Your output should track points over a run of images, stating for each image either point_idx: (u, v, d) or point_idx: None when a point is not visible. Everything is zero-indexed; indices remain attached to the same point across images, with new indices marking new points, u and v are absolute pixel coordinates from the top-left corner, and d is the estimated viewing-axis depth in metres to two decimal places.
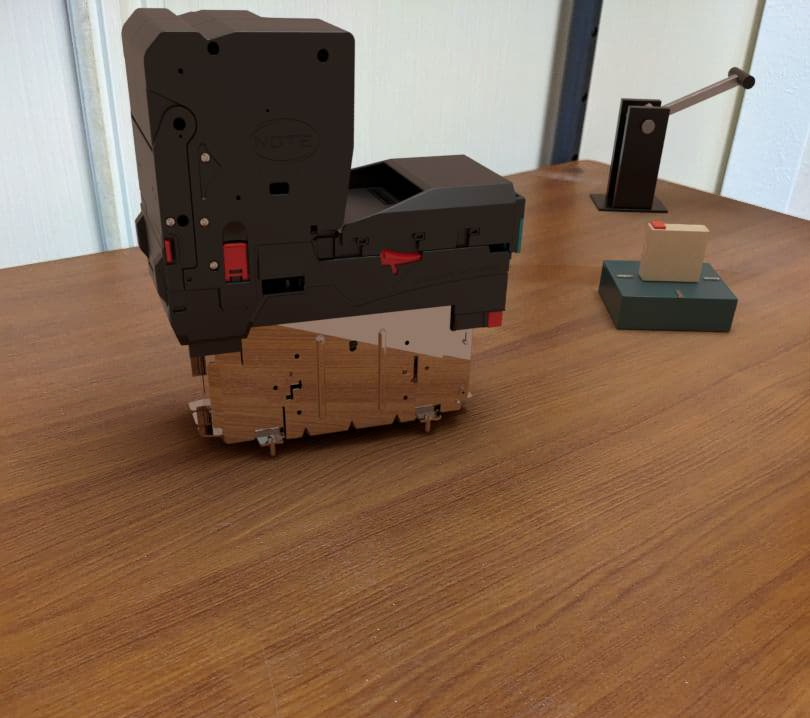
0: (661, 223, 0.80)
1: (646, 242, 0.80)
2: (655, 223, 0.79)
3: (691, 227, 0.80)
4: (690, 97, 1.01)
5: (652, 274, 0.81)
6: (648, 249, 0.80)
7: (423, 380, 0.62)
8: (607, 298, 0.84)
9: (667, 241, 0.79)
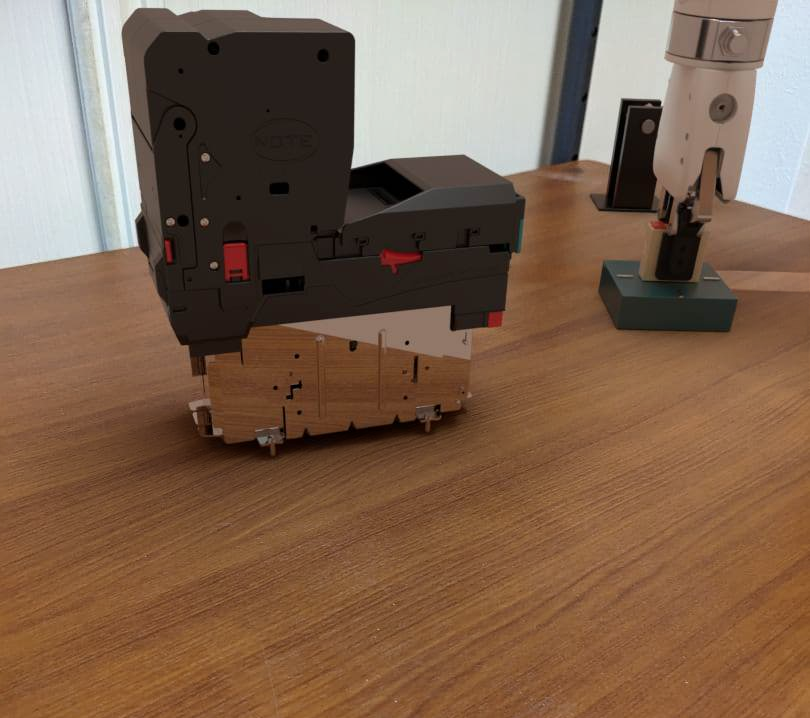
0: (661, 223, 0.80)
1: (646, 242, 0.80)
2: (655, 223, 0.79)
3: None
4: None
5: (652, 274, 0.81)
6: (648, 249, 0.80)
7: (423, 380, 0.62)
8: (607, 298, 0.84)
9: None
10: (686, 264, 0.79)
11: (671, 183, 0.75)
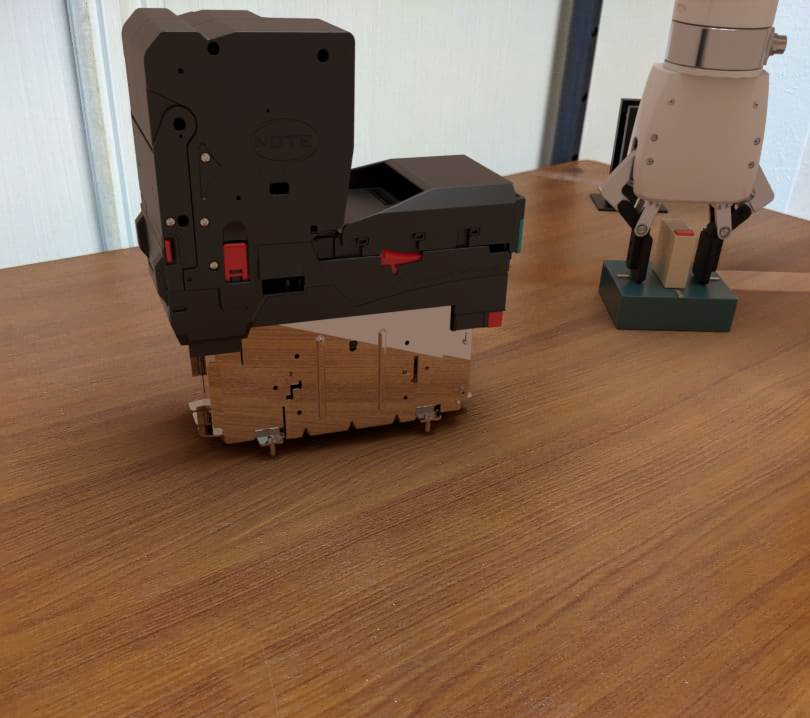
0: (681, 229, 0.78)
1: (679, 253, 0.78)
2: (684, 232, 0.78)
3: (675, 223, 0.80)
4: None
5: None
6: (690, 257, 0.79)
7: (423, 380, 0.62)
8: (607, 298, 0.84)
9: None
10: None
11: (723, 191, 0.76)
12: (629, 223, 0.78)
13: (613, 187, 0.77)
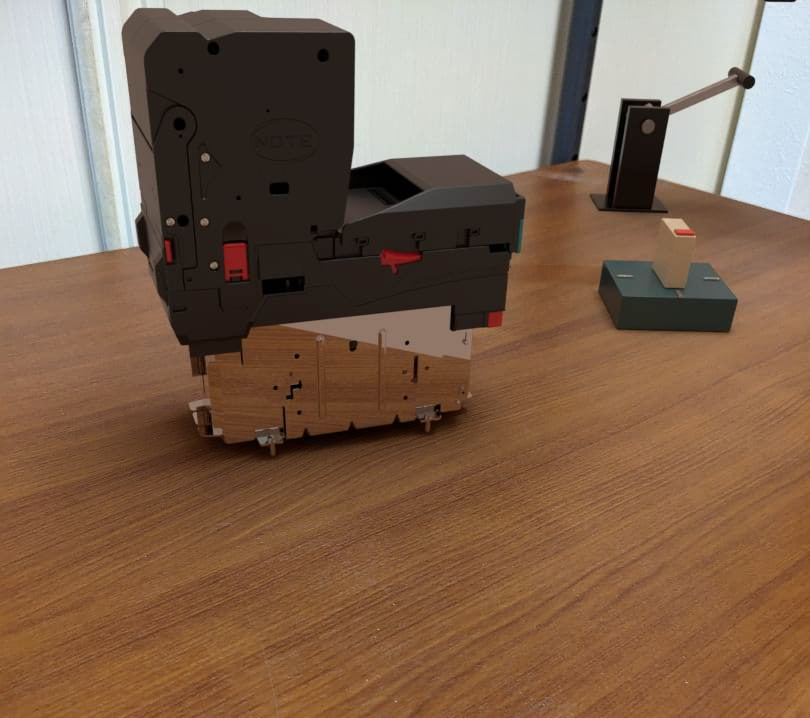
0: (681, 229, 0.78)
1: (679, 253, 0.78)
2: (684, 232, 0.78)
3: (675, 223, 0.80)
4: (690, 97, 1.01)
5: None
6: (690, 257, 0.79)
7: (423, 380, 0.62)
8: (607, 298, 0.84)
9: None
10: None
11: None
12: None
13: None
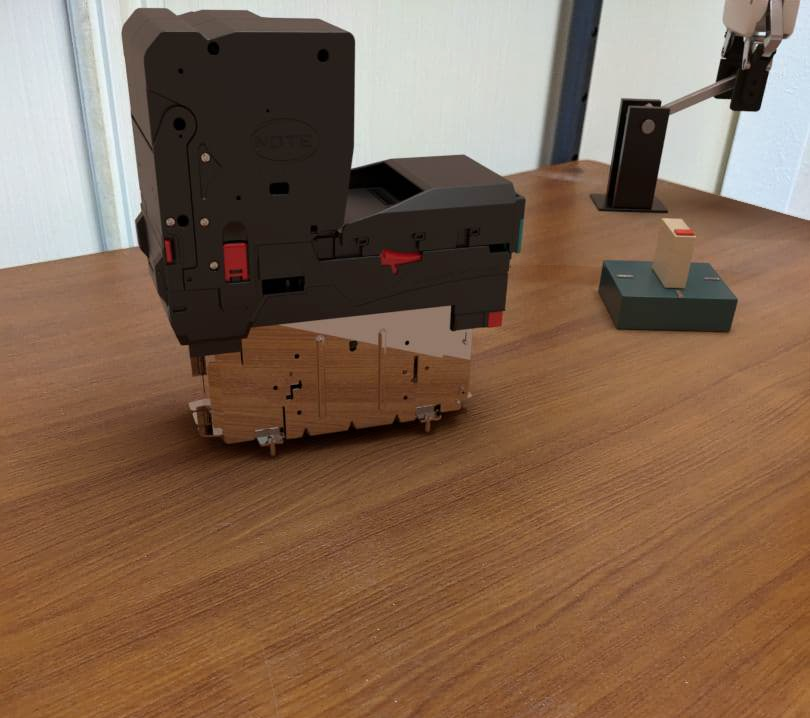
0: (681, 229, 0.78)
1: (679, 253, 0.78)
2: (684, 232, 0.78)
3: (675, 223, 0.80)
4: (690, 97, 1.01)
5: None
6: (690, 257, 0.79)
7: (423, 380, 0.62)
8: (607, 298, 0.84)
9: None
10: (756, 95, 0.97)
11: (740, 23, 0.95)
12: None
13: None
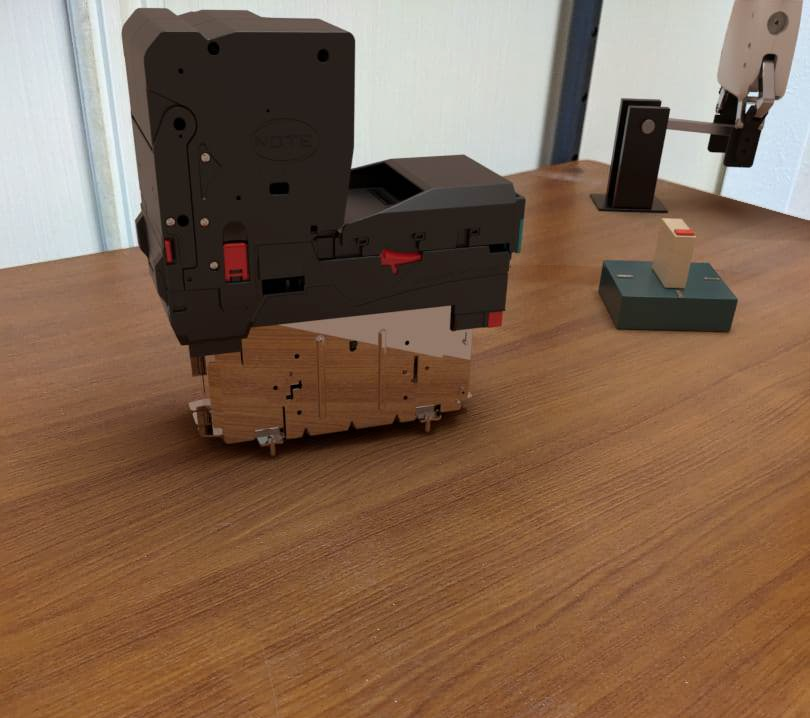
0: (681, 229, 0.78)
1: (679, 253, 0.78)
2: (684, 232, 0.78)
3: (675, 223, 0.80)
4: (691, 123, 1.02)
5: None
6: (690, 257, 0.79)
7: (423, 380, 0.62)
8: (607, 298, 0.84)
9: None
10: (749, 153, 1.01)
11: (734, 84, 0.98)
12: None
13: None
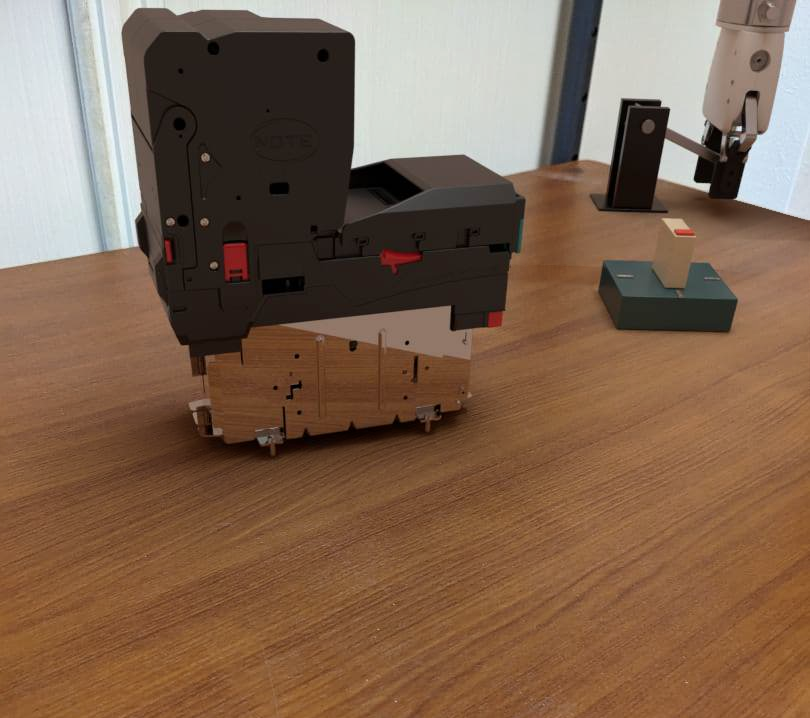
0: (681, 229, 0.78)
1: (679, 253, 0.78)
2: (684, 232, 0.78)
3: (675, 223, 0.80)
4: (686, 139, 1.03)
5: None
6: (690, 257, 0.79)
7: (423, 380, 0.62)
8: (607, 298, 0.84)
9: None
10: (733, 185, 1.03)
11: (718, 119, 1.00)
12: None
13: None
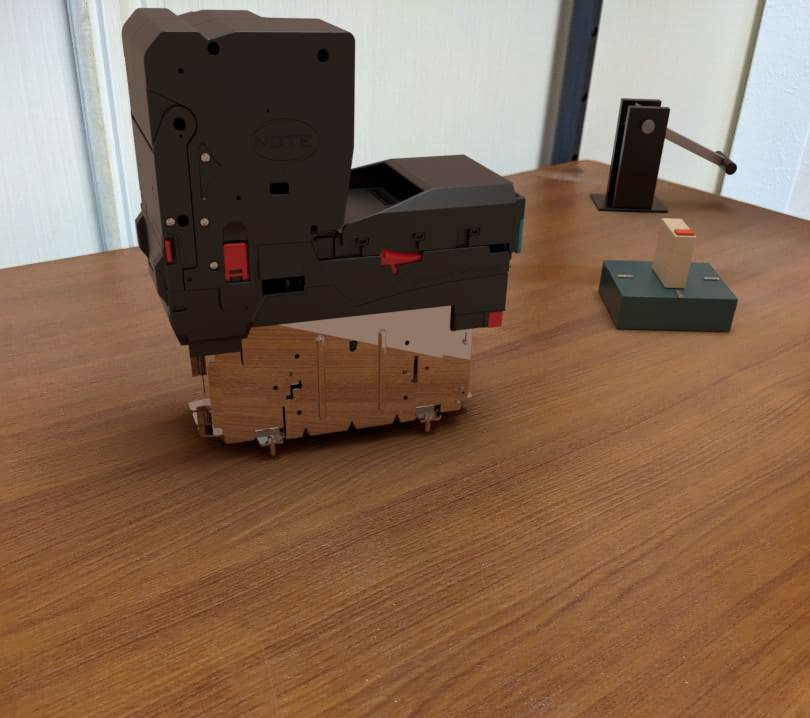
0: (681, 229, 0.78)
1: (679, 253, 0.78)
2: (684, 232, 0.78)
3: (675, 223, 0.80)
4: (686, 139, 1.03)
5: None
6: (690, 257, 0.79)
7: (423, 380, 0.62)
8: (607, 298, 0.84)
9: None
10: None
11: None
12: None
13: None
